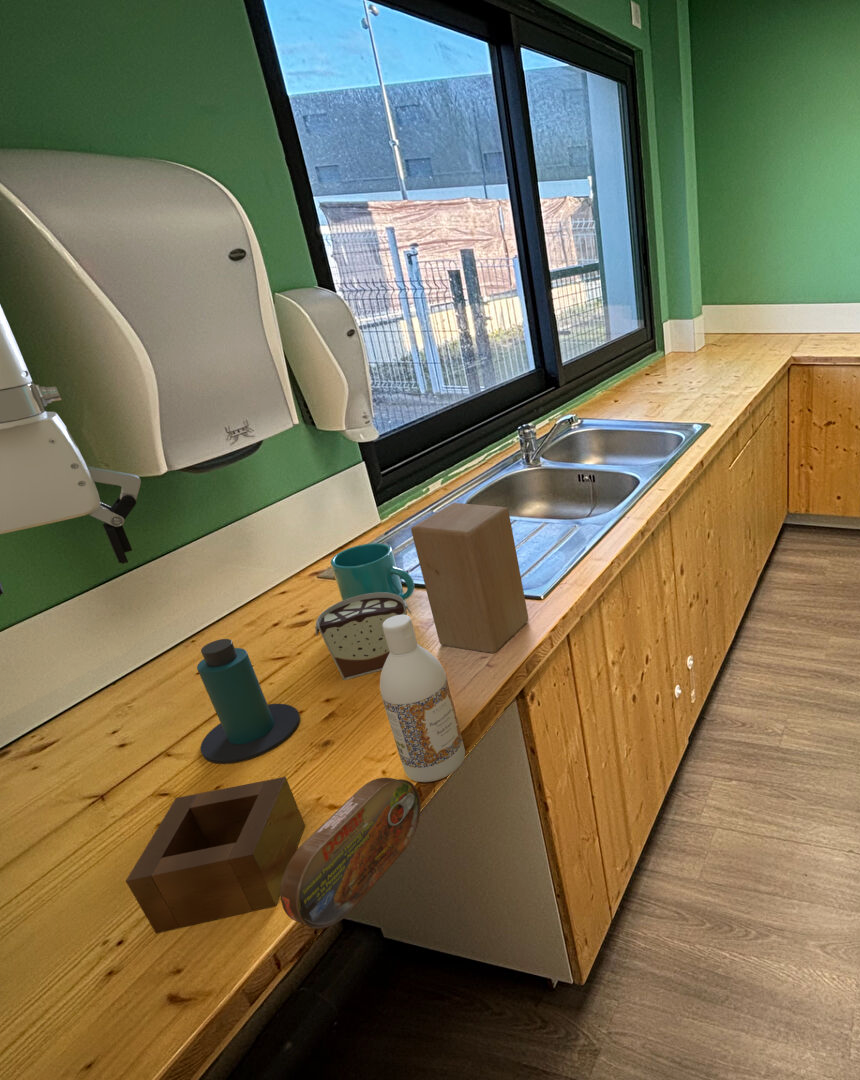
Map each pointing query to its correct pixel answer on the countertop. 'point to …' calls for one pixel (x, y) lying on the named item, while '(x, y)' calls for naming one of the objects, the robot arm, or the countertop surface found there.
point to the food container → (359, 631)
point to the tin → (350, 852)
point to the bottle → (235, 692)
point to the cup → (369, 572)
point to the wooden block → (471, 575)
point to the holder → (218, 855)
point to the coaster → (225, 752)
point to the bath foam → (419, 705)
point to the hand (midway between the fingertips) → (62, 575)
